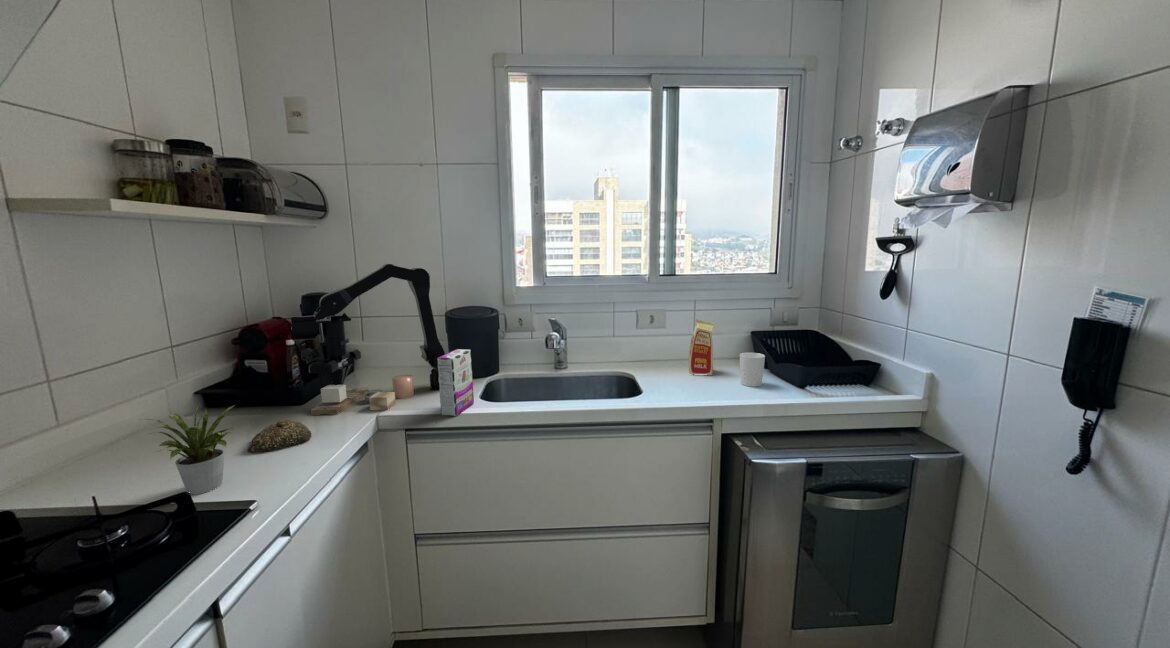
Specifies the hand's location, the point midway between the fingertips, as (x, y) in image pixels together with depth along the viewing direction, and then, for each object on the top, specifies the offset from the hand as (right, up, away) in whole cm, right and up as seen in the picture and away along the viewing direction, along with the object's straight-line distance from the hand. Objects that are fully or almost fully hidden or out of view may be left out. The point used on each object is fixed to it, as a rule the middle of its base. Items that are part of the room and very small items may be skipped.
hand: (339, 389), depth 132 cm
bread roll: (0, -9, -25) cm, 27 cm away
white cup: (+128, -1, +18) cm, 130 cm away
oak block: (+14, -5, -3) cm, 15 cm away
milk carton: (+116, +1, +33) cm, 120 cm away
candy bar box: (+36, -5, -5) cm, 37 cm away
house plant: (-1, -12, -48) cm, 49 cm away
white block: (0, -3, -3) cm, 4 cm away
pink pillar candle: (+16, -3, +8) cm, 18 cm away
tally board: (0, -4, +2) cm, 5 cm away
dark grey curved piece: (+9, -4, +3) cm, 10 cm away
